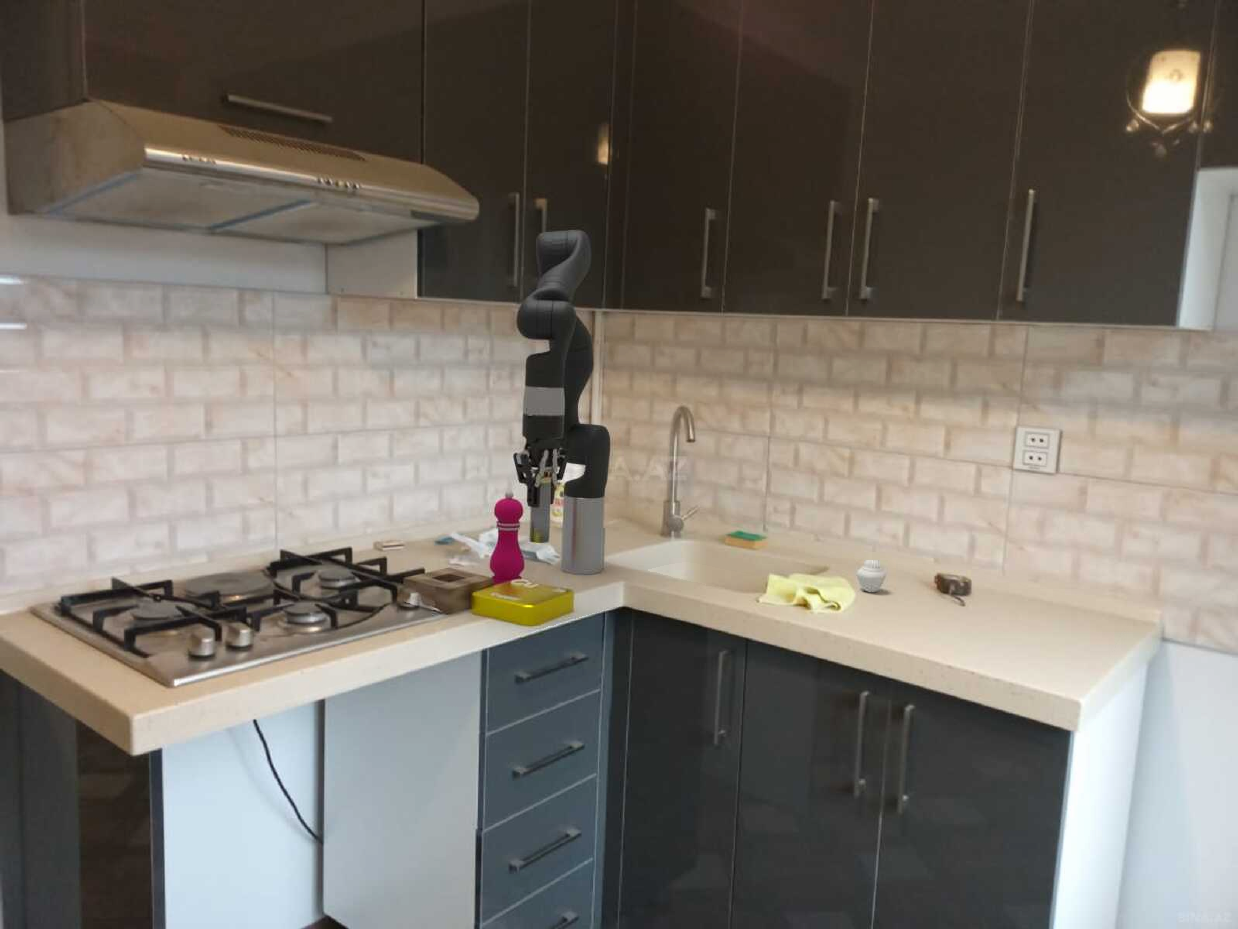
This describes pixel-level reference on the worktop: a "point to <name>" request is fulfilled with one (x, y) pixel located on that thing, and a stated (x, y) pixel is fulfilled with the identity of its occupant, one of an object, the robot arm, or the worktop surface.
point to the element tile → (522, 602)
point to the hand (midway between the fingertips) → (540, 505)
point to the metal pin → (541, 513)
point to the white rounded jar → (871, 576)
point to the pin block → (447, 588)
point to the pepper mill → (507, 541)
